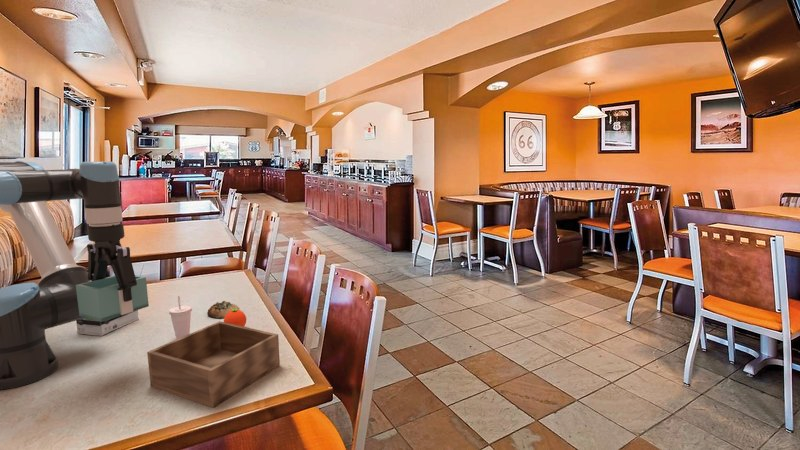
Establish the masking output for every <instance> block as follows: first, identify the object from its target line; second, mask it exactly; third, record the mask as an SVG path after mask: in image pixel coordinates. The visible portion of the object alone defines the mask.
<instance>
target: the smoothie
mask: <svg viewBox="0 0 800 450" xmlns="http://www.w3.org/2000/svg"><path fill="white" fill-rule="evenodd" d="M177 302H178V304H177V305H178V306H174V307H172V308H170V309H169V310H168V312H169V313H168V314H169V315H170V319H171V322H172V327H173V331H174V335H175V340H177V339H179V338H181V337H184V336H186V335H189V334H191V315H192V311H193V308H192V306H190V305H182V304H181V296H180V295H178V296H177Z"/></svg>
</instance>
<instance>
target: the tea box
mask: <svg viewBox="0 0 800 450" xmlns="http://www.w3.org/2000/svg"><path fill="white" fill-rule="evenodd" d="M138 320H139V310H136V311H133V312H130V313H127V314H124V315H121V316H118V317H115V318H112V319H108V320H105V321H102V322H100V321H96V320H92V319H89V318H85V319H80V320H76V321H75V322H76V323H75V324H76V332H77V334H78V335H79V334H80V335H88V336H96V337H97V336H100V337H102V336H104V335H106V334H108V333H110V332H112V331H115V330H117V329H119V328H122V327H123V326H126V325H129V324H131V323H133V322H136V321H138Z"/></svg>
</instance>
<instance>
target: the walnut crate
mask: <svg viewBox="0 0 800 450" xmlns="http://www.w3.org/2000/svg"><path fill="white" fill-rule="evenodd" d="M279 343H280V342H279V334H277V333H273V332H268V331H264V330H260V329H255V328H252V327H251V328H250V327H247V326H246V327H245V326H244V327H243V326H238V325H234V324H229V323H225V322H224V321H217V322H214V323H212V324H211V325H208V326H206V327H202V328H201V329H198V330H196V331H194V332H190V334H189V335H186V336H184V337H181V338H179V339H177V340H176V339H175V340H173V341H170V342H168V343H166V344H163V345H160V346H158V347H156V348H153V349H152V350H151V349H150V350H149V351H146V355H147V362H148V372H149V373H148V374H149V383H150V384H149V385H150V387H152V388H155V389H159V390H161V391H164V392H167V393H169V394H173V395H176V396H179V397H180V398H184V399H187V400H189V401H193V402H196V403H198V404H201V405H204V406H206V407H207V406H208V407H210V408H213V409H214V408H216V407H218V406H219V405H220V404H223V403H224V402H225V401H227V400H229V399H230V398H232V397H233V396H235V395H236V394H238V393H240V392H241V391H242V390H244V389H246V388H247V387H249V386H250V385H252V384H254V383H255V382H258V380H260V379H262V378H263V377H265V376H266V375H268V374H270V373H271V372H272V371H274V370H275V369H277V368H279V367H280V366H281V362H280V345H279Z"/></svg>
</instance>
